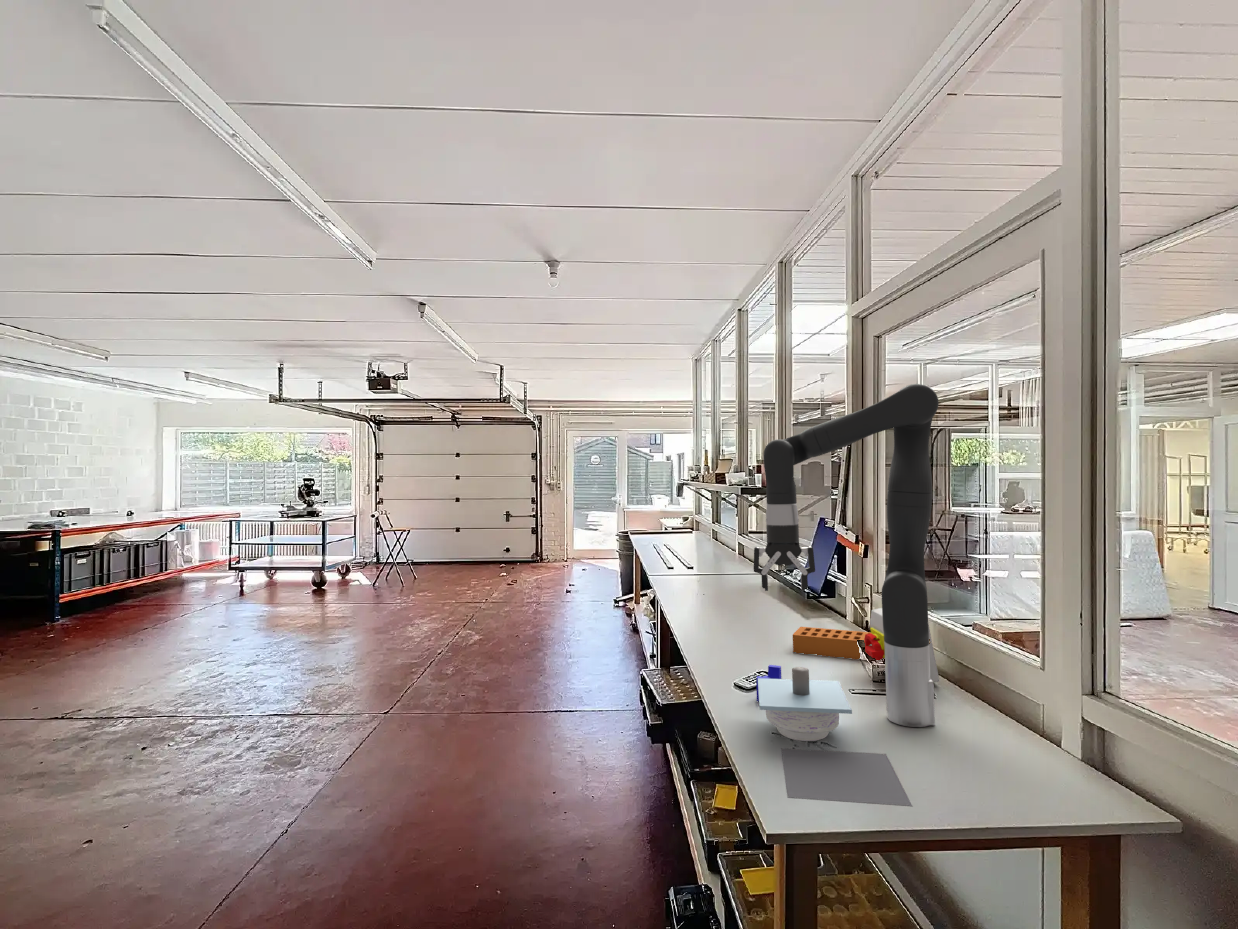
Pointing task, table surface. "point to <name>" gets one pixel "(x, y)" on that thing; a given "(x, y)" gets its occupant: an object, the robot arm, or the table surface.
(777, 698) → the sheet
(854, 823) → the table surface
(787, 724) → the paper bowls
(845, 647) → the brick
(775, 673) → the cable clip
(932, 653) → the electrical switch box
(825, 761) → the mat
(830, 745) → the table surface
